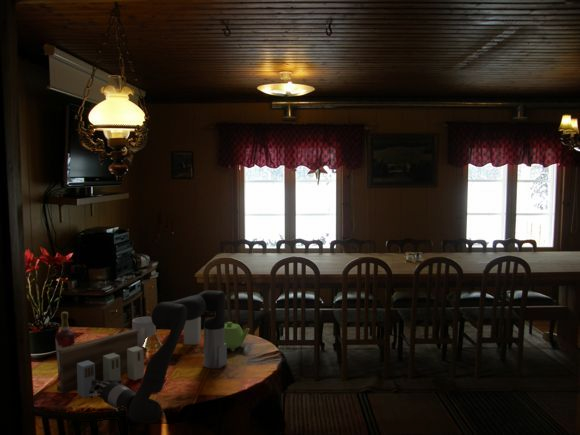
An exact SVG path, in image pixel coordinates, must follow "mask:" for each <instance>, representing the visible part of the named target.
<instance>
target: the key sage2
mask: <svg viewBox="0 0 580 435" xmlns="http://www.w3.org/2000/svg"><path fill="white" fill-rule="evenodd" d="M121 376H122V375H120V356H119V355H117V354H115V353H111V354H108V355H104V356H103V379H104V382H106V380H121Z"/></svg>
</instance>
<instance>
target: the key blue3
mask: <svg viewBox="0 0 580 435" xmlns="http://www.w3.org/2000/svg"><path fill="white" fill-rule="evenodd" d="M92 380H95V363H93V362H91V361H89V360H87V361H84V362H80V363H77V388H78V390H77V395H78V396H80V397H82V398H83V399H86V398H89V390H90V388H91V386H92V384H91V382H92Z"/></svg>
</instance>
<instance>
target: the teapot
mask: <svg viewBox="0 0 580 435" xmlns="http://www.w3.org/2000/svg"><path fill="white" fill-rule="evenodd" d="M249 332H250V328H249V327H246V328H245V330H244V331H243V329H242V327H241V326H240V324H238V323H233V322H232V321H227V322H225V343H227V349H230V351H231V350H233V351H232V352H235V351H234V350H236V349H237V348H240V347H241V346H242V345H243V343H244V342H245V339H246V338H247V336H248V334H249ZM239 346H240V347H239ZM236 351H237V350H236Z"/></svg>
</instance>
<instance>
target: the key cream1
mask: <svg viewBox="0 0 580 435" xmlns="http://www.w3.org/2000/svg"><path fill="white" fill-rule="evenodd" d="M144 359H145V358H144V347H143V348H142V347H138V346H135V347H132V348H128V349H127V373H126V374H127V375H126V376H127V378H128V379H130V380H132V381H137V380H140V379H143V377H144V373H145V364H144V362H145V360H144Z"/></svg>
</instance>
